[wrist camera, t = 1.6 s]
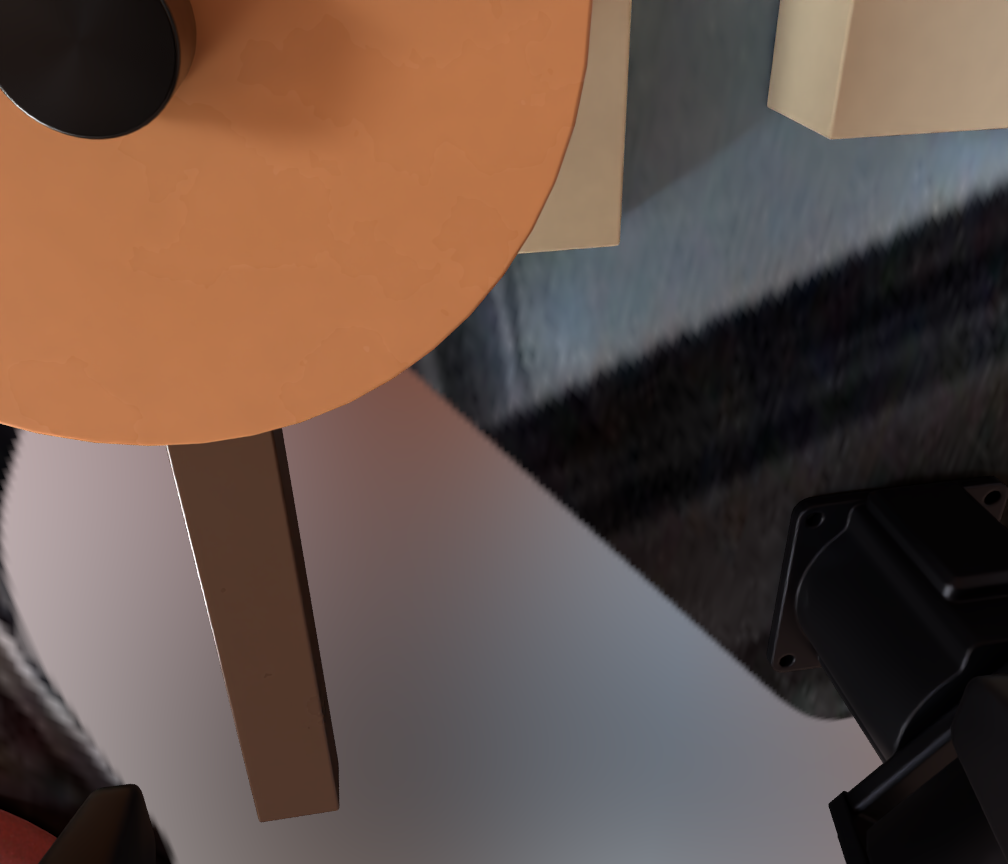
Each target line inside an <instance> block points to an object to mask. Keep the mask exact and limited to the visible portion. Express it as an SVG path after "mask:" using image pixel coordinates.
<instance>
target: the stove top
mask: <svg viewBox="0 0 1008 864" xmlns="http://www.w3.org/2000/svg"><path fill="white" fill-rule="evenodd" d="M631 8H632V0H593V7H592V18H591V30H590V41H589V53H588V64H587V70H586V75H585V80H584V84H583V89H582V94H581V99H580V104H579V109H578V113H577V118H576V123H575V127H574V130H573V133H572V136H571V139H570V142H569V145H568V148H567V151H566V154H565V157H564V160H563V163H562V166H561V169H560V171H559V174H558V177H557V180H556V182H555V185H554V187H553V189H552V191H551V193H550V195H549V197H548V199H547V201H546V203H545V205H544V208H543V210H542V212H541V214H540V216H539V218H538V220H537V222H536V224H535V226H534V228H533V230H532V232H531V234H530V235H529V237H528V238H527V240H526V241H525V243H524V244H523V246H522V248H521V249H520V251H519V252H518V254H520V253H533V252H546V251H559V250H571V249H584V248H597V247H610V246H617V245H619V243H620V232H621V211H622V191H623V171H624V150H625V130H626V110H627V89H628V69H629V49H630V28H631Z"/></svg>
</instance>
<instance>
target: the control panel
mask: <svg viewBox="0 0 1008 864" xmlns="http://www.w3.org/2000/svg"><path fill="white" fill-rule="evenodd" d="M767 106H768V108H770V109H772V110H774V111H776V112H778V113H780V114H782V115H784V116H786V117H788V118H790V119H791V120H793V121H795V122H797V123H799V124H801V125H803V126H805V127H807V128H809V129H811V130H813V131H815V132H817V133H819V134H820V135H822V136H824V137H826V138H828V139H831V140H832V139H847V138H863V137H878V136H894V135H909V134H925V133H940V132H956V131H972V130H987V129H1003V128H1008V0H780V6H779V14H778V22H777V30H776V38H775V46H774V54H773V62H772V70H771V77H770V85H769V93H768V101H767Z"/></svg>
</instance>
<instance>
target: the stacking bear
mask: <svg viewBox="0 0 1008 864" xmlns="http://www.w3.org/2000/svg"><path fill="white" fill-rule="evenodd" d="M56 839H57V838H56V837H55V836H53V835H52V834H50V833H48V832H47V831H45V830H43V829H41V828H39V827H38V826H36V825H34V824H32V823H30V822H28V821H27V820H24V819H22V818H20V817H18V816H15V815H13V814H11V813H9V812H6V811H4V810H1V809H0V864H38V863H39V862H40V860H41V859H42V858H43V856H44V855H45V854H46V852H47V851H48V850H49V848H50V847H51V846H52V844H53V843H54V842H55V840H56Z"/></svg>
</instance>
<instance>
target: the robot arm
mask: <svg viewBox="0 0 1008 864" xmlns="http://www.w3.org/2000/svg"><path fill="white" fill-rule="evenodd" d="M987 494H988V495H987ZM986 495H987V496H986ZM1007 498H1008V488H1007V486H1006V485H1005V484H1003V483H1002V482H1001V481H1000V480H999V479H998V478H996V477H994V476H985V477H977V478H969V479H960V480H952V481H943V482H935V483H927V484H918V485H910V486H901V487H893V488H885V489H877V490H869V491H860V492H852V493H844V494H835V495H827V496H819V497H811V498H807V499H804V500H802V501H801V502H799V503H798V504H797V505H796V506H795V508H794V509H793V512H792V515H791V521H790V526H789V532H788V537H787V543H786V549H785V554H784V560H783V565H782V571H781V577H780V582H779V588H778V593H777V599H776V604H775V610H774V616H773V621H772V627H771V632H770V638H769V644H768V649H767V659H768V661H769V663H770V664H771V666H772V668H773V669H774V670H775V671H777V672H790V671H797V670H804V669H811V668H818V667H822V668H823V669H824V671H825V672H826V674H827V675H828V677H829V679H830V680H831V682H832V683H833V685H834V687H835V688H836V690H837V691H838V693H839V694H840V696H841V698H842V699H843V701H844V702H845V704H846V705H847V707H848V709H849V710H850V712H851V713H852V715H853V716H854V718H855V719H856V721H857V723H858V724H859V726H860V728H861V729H862V731H863V732H864V734H865V735H866V737H867V738H868V740H869V742H870V743H871V745H872V746H873V748H874V749H875V751H876V753H877V754H878V756H879V757H880V759H881V760H882V762H883V764H882V765H881V766H879V767H878V768H877V769H876V770H875V771H873V772H872V773H871V774H870V775H869V776H867V777H866V778H865V779H864V780H863V781H861V782H860V783H859V784H858V785H856V786H855V787H854V788H853V789H852V790H850V791H849V792H846V791H843V792H842V793H841V794H840V795H839V796H837V797H836V798H835V799H834V800H832V801H831V802H830V803H829V809H830V812H831V815H832V818H833V822H834V824H835V828H836V831H837V834H838V839H839V842H840V845H841V848H842V851H843V855H844V858H845V861H846V864H1008V530H1007V529H1006V528H1005V527H1004V526H1003V525H1002V524H1001V523H1000V520H1001V517H1002V514H1003V511H1004V508H1005V504H1006V501H1007ZM813 513H815V515H814V516H812V517H811V518H808V517H809V516H810V515H811V514H813ZM807 518H808V519H807ZM155 863H156V842H155V835H154V831H153V828H152V825H151V821H150V818H149V814H148V811H147V808H146V804H145V801H144V797H143V794H142V791H141V790H140V788H139V787H138V786H137V785H135V784H126V785H119V786H111V787H103V788H99V789H97V790H95V791H94V792H92V793H91V794H90V795H89V796H88V797H87V799H86V800H85V801H84V803H83V804H82V805H81V807H80V808H79V809H78V811H77V812H76V813H75V815H74V816H73V817H72V819H71V820H70V822H69V823H68V824H67V826H66V827H65V828H64V830H63V831H62V832H61V834H60V835H59V836H58V838H57V839H56V840H55V842H54V843H53V844H52V846H51V847H50V848H49V850H48V851H47V852H46V854H45V855H44V856H43V858H42V859H41V860H40V862H39V863H38V864H155Z"/></svg>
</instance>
